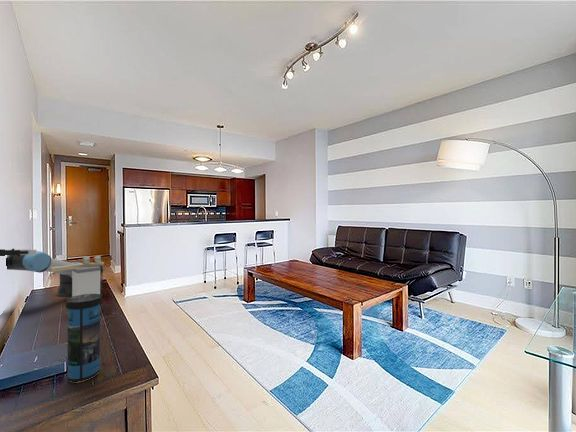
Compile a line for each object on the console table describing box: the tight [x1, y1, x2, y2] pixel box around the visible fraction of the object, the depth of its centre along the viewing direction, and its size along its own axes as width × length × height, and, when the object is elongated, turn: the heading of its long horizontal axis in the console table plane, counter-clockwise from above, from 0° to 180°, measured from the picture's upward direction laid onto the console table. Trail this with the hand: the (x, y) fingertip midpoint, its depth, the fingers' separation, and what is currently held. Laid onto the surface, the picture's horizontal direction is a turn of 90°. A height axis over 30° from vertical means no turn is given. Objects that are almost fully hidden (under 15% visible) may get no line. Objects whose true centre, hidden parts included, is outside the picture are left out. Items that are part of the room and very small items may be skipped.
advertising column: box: [65, 294, 103, 382], centre depth 109 cm, size 11×11×30 cm
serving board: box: [50, 255, 105, 273], centre depth 174 cm, size 4×26×6 cm, turn 138°
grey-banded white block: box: [71, 266, 101, 297], centre depth 177 cm, size 12×12×28 cm
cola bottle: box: [92, 256, 104, 297], centre depth 204 cm, size 8×8×30 cm
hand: (33, 252), depth 160 cm, fingers open, 13 cm apart
